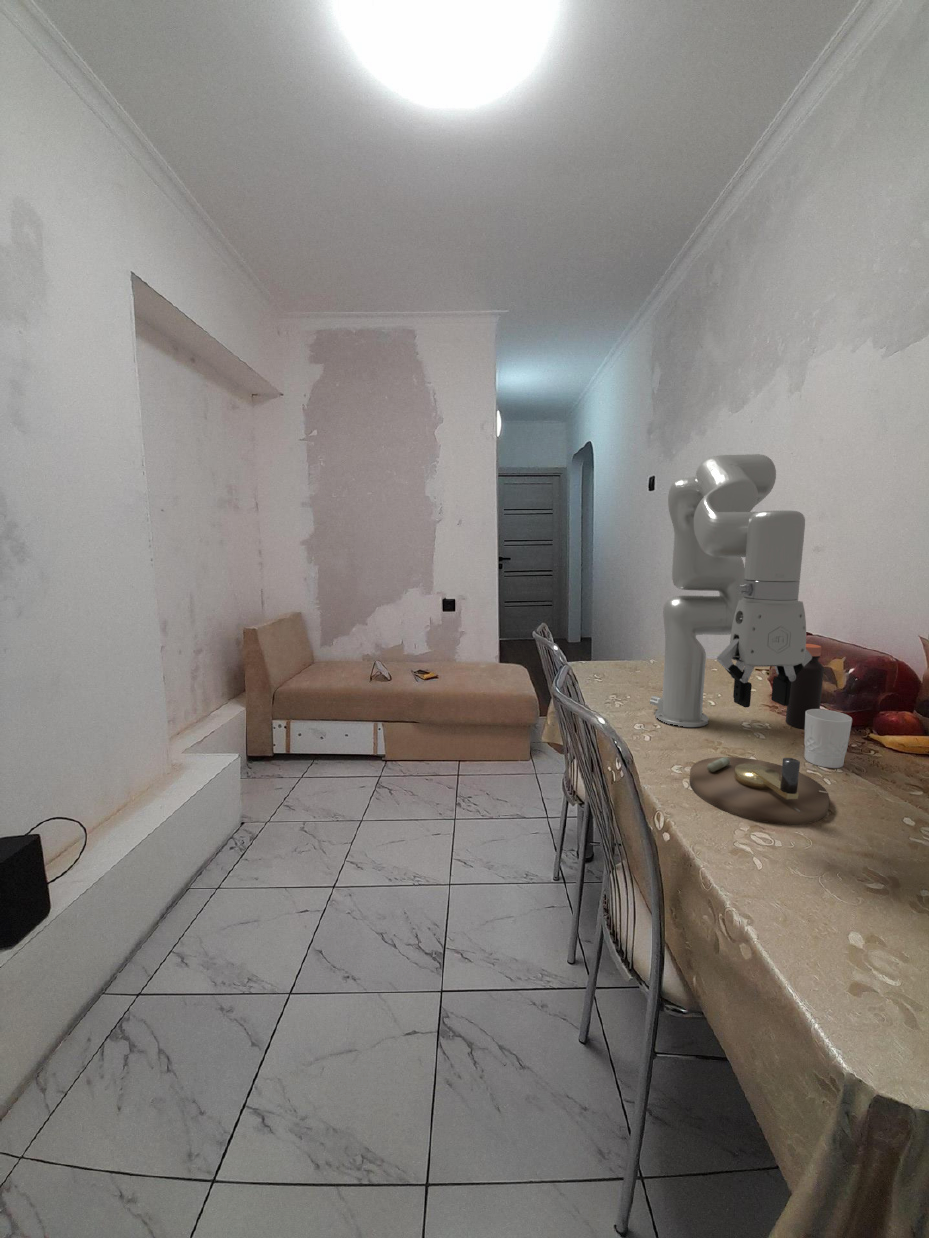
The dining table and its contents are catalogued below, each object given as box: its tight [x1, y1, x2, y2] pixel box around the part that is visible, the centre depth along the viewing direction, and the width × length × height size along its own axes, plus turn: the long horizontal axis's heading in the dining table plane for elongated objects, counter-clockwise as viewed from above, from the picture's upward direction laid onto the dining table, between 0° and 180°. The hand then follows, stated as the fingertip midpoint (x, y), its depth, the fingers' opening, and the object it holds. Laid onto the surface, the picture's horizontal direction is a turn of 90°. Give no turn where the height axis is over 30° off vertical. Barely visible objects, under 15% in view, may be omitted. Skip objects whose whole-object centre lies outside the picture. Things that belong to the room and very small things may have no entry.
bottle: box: [785, 643, 825, 730], centre depth 129 cm, size 7×7×20 cm
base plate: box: [689, 756, 830, 825], centre depth 96 cm, size 22×22×4 cm
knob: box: [734, 757, 801, 799], centre depth 92 cm, size 13×7×7 cm, turn 6°
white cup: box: [803, 708, 853, 769], centre depth 108 cm, size 8×8×10 cm
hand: (760, 703), depth 85 cm, fingers open, 5 cm apart
